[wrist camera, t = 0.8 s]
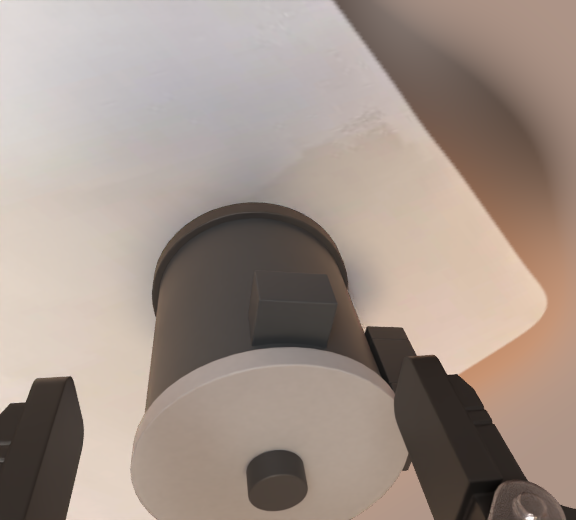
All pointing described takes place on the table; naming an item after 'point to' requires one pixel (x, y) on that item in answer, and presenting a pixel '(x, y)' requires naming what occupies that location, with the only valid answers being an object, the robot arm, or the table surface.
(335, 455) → the kettle jug
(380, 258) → the table surface
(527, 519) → the robot arm
